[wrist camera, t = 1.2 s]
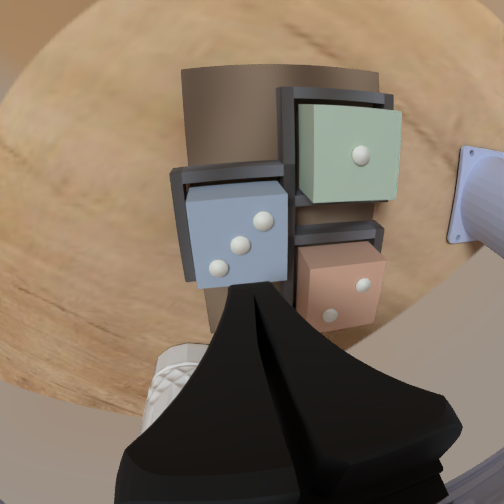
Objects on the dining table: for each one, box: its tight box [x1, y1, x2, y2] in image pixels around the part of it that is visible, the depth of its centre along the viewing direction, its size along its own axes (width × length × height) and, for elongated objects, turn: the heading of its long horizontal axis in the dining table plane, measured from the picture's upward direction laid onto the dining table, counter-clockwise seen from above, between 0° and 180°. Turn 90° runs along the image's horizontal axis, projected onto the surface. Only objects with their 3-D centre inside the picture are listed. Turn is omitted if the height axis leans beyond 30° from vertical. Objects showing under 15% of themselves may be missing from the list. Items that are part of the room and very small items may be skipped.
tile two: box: [296, 241, 387, 333], centre depth 18 cm, size 4×4×3 cm
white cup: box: [140, 343, 209, 435], centre depth 20 cm, size 8×8×10 cm
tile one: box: [298, 104, 402, 203], centre depth 14 cm, size 4×4×3 cm
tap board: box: [170, 64, 393, 333], centre depth 18 cm, size 12×17×2 cm
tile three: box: [186, 181, 288, 289], centre depth 15 cm, size 4×4×3 cm
